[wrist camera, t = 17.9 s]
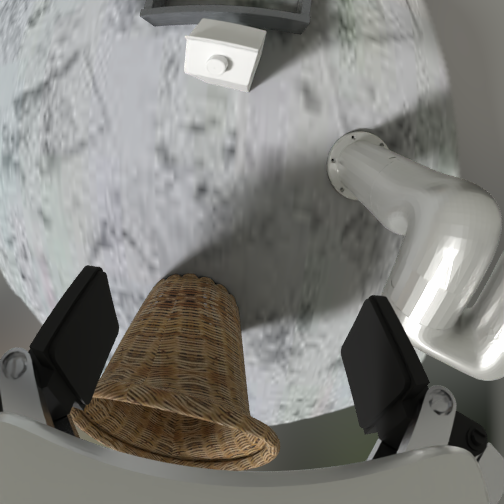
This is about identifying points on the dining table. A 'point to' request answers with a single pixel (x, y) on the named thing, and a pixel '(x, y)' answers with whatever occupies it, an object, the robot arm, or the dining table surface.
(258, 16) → the dark grey tray
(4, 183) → the dining table surface
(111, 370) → the wicker basket
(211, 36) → the milk carton
